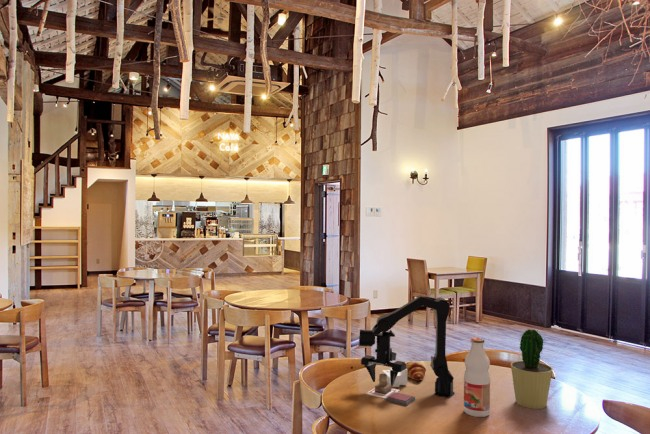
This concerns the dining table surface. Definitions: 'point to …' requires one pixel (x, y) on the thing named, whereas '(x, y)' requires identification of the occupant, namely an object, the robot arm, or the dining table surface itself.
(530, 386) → the potted cactus
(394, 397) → the ink pad
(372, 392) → the paper card
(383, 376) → the stamp
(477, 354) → the fruit juice
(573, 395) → the dining table surface
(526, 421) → the dining table surface
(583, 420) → the dining table surface
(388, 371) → the bracket
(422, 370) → the croissant
